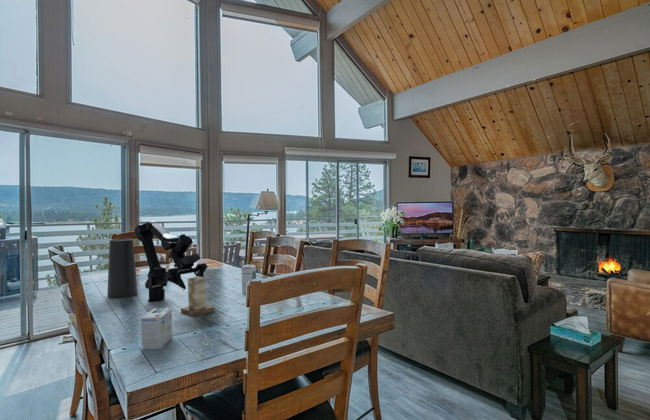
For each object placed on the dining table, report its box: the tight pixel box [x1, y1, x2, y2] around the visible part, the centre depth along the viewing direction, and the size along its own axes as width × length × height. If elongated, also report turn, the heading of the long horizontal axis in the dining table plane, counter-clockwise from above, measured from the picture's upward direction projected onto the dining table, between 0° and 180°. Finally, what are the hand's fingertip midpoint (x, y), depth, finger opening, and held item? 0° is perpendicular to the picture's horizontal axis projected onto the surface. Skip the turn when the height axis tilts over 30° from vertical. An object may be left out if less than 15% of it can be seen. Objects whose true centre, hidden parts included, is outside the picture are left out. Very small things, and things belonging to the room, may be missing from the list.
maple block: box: [187, 276, 207, 310], centre depth 158 cm, size 5×5×13 cm
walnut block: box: [180, 304, 215, 318], centre depth 159 cm, size 10×10×2 cm
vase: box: [106, 237, 138, 299], centre depth 187 cm, size 14×14×29 cm
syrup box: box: [241, 264, 257, 295], centre depth 191 cm, size 6×6×14 cm
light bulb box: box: [140, 307, 173, 350], centre depth 124 cm, size 11×7×11 cm, turn 5°
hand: (194, 286), depth 160 cm, fingers open, 9 cm apart
